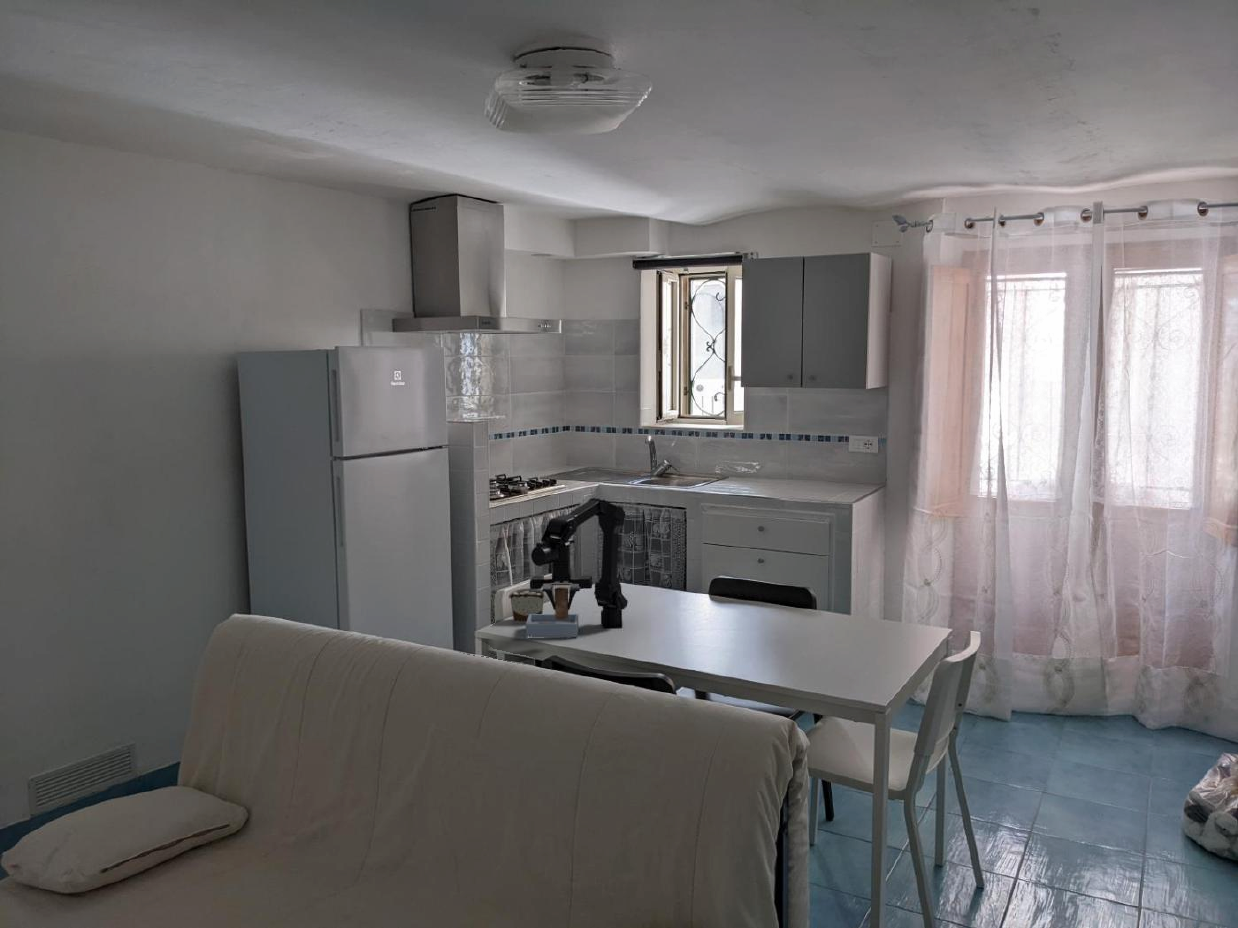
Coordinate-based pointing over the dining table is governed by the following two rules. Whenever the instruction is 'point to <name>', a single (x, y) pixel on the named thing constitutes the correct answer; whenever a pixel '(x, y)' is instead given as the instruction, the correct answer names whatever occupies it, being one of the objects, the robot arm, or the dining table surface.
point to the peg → (561, 603)
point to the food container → (526, 603)
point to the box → (552, 626)
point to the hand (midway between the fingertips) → (561, 609)
